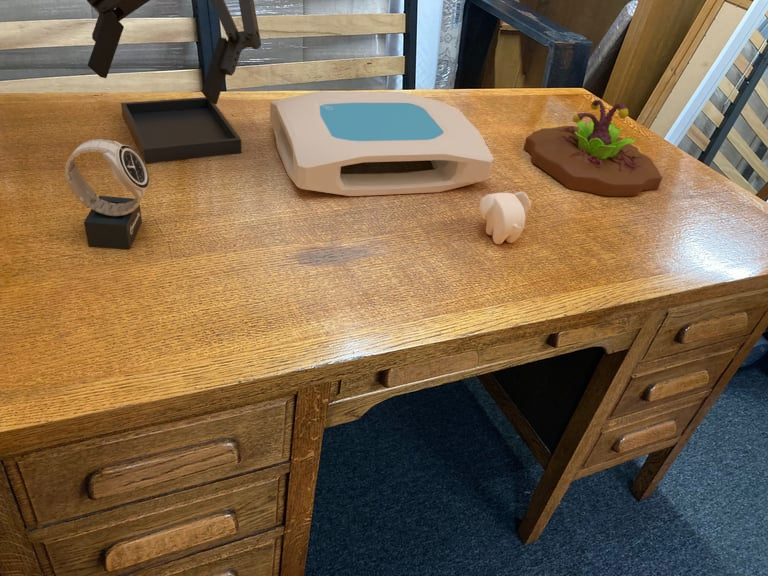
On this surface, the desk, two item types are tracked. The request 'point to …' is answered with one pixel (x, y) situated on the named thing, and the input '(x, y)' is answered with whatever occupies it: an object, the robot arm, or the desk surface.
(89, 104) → the desk surface
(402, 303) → the desk surface
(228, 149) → the tray
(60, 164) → the desk surface
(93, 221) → the watch
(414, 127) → the document scanner
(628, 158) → the plant
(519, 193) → the elephant figurine
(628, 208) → the desk surface
